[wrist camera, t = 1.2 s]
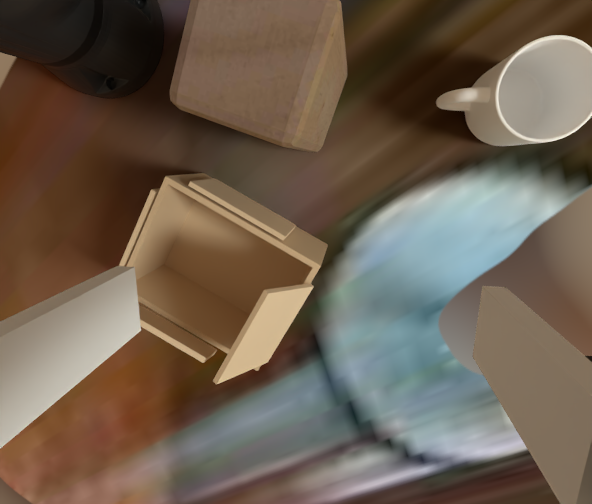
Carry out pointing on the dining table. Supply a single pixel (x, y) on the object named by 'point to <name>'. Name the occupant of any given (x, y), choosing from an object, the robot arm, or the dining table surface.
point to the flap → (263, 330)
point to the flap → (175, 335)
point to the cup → (529, 94)
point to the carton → (214, 255)
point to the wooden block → (263, 67)
